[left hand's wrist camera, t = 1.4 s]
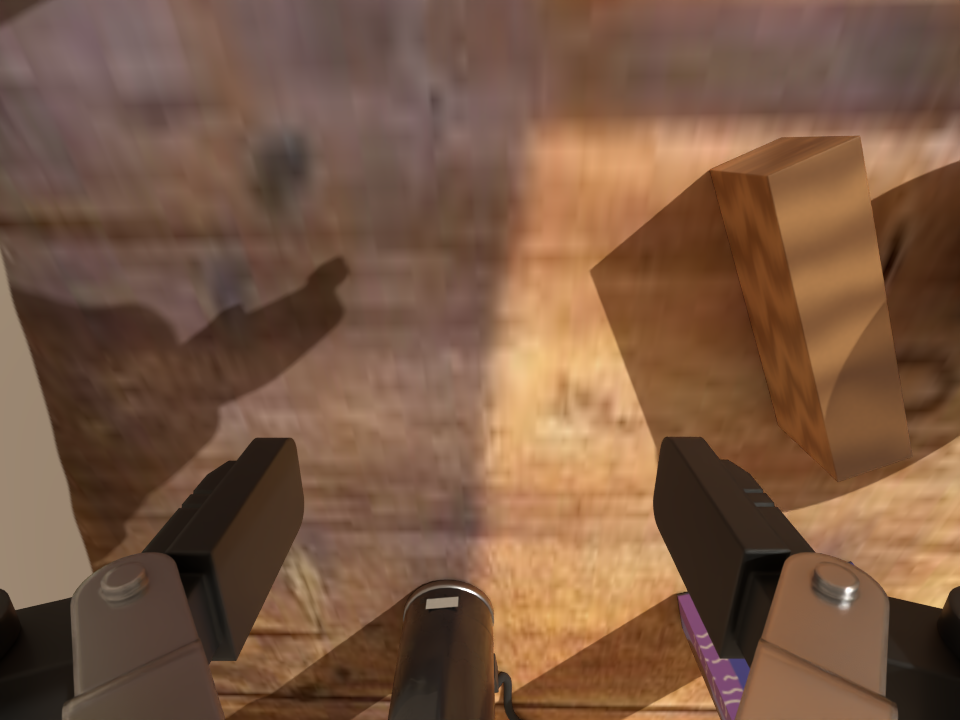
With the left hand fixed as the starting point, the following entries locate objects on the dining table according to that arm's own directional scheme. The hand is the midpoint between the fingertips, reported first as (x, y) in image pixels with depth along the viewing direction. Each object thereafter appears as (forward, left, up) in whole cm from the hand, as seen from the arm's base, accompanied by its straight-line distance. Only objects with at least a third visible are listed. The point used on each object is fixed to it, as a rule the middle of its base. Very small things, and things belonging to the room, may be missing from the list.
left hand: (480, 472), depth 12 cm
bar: (-9, -23, -32) cm, 40 cm away
